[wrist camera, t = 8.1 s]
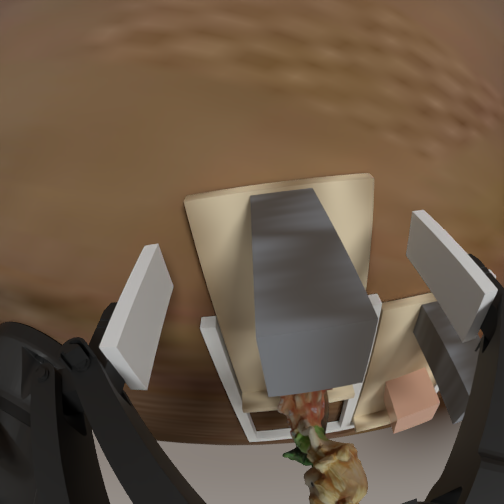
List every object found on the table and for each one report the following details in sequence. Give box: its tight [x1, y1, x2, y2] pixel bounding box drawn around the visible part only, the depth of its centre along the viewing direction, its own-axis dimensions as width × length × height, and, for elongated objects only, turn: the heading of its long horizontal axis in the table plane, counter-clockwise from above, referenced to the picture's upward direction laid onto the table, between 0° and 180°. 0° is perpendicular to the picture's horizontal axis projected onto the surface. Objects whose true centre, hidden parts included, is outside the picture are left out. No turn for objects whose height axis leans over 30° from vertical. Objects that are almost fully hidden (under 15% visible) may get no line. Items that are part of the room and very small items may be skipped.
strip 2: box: [351, 293, 481, 432], centre depth 23 cm, size 11×22×11 cm, turn 8°
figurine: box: [277, 388, 368, 504], centre depth 20 cm, size 9×8×15 cm
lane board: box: [200, 269, 496, 442], centre depth 28 cm, size 27×25×1 cm
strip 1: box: [184, 173, 378, 413], centre depth 18 cm, size 11×22×11 cm, turn 8°
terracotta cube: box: [384, 367, 440, 433], centre depth 27 cm, size 5×5×5 cm
